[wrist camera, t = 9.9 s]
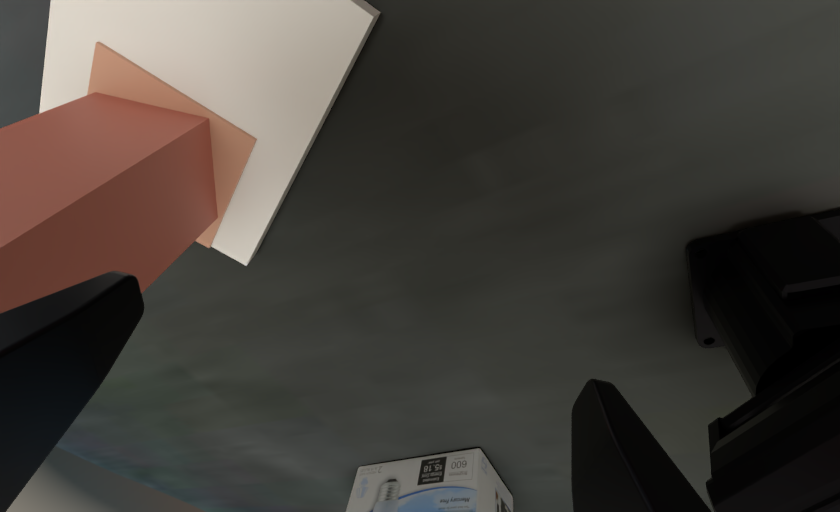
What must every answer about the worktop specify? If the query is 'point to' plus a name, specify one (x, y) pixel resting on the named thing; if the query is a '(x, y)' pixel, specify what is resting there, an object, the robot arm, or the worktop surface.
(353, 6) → the board
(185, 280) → the worktop surface
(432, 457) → the light bulb box
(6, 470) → the robot arm
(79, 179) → the block
